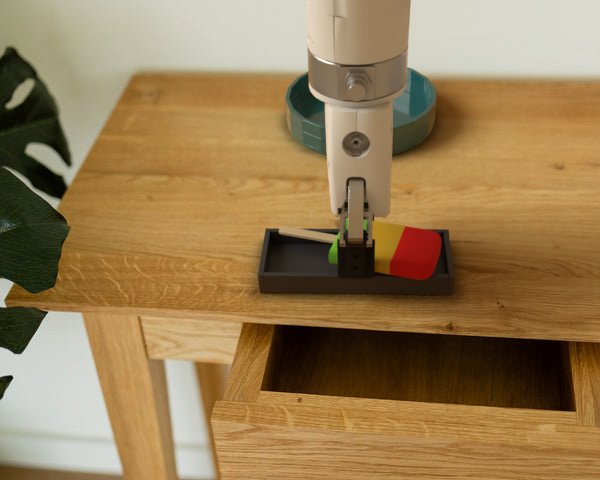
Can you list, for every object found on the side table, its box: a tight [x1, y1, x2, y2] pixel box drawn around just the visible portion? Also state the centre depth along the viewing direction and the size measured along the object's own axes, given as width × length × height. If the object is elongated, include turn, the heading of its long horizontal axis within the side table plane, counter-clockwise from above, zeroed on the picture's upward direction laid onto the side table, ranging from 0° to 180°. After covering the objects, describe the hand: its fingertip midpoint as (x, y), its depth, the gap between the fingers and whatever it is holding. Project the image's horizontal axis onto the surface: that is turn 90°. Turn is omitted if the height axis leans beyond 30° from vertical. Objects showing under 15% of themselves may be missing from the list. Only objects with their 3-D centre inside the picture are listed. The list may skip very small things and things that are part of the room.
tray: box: [257, 227, 455, 296], centre depth 71 cm, size 17×7×2 cm, turn 86°
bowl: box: [284, 66, 437, 156], centre depth 91 cm, size 18×18×4 cm
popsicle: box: [279, 218, 442, 280], centre depth 69 cm, size 6×15×2 cm, turn 71°
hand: (356, 249), depth 70 cm, fingers closed on popsicle, 6 cm apart
